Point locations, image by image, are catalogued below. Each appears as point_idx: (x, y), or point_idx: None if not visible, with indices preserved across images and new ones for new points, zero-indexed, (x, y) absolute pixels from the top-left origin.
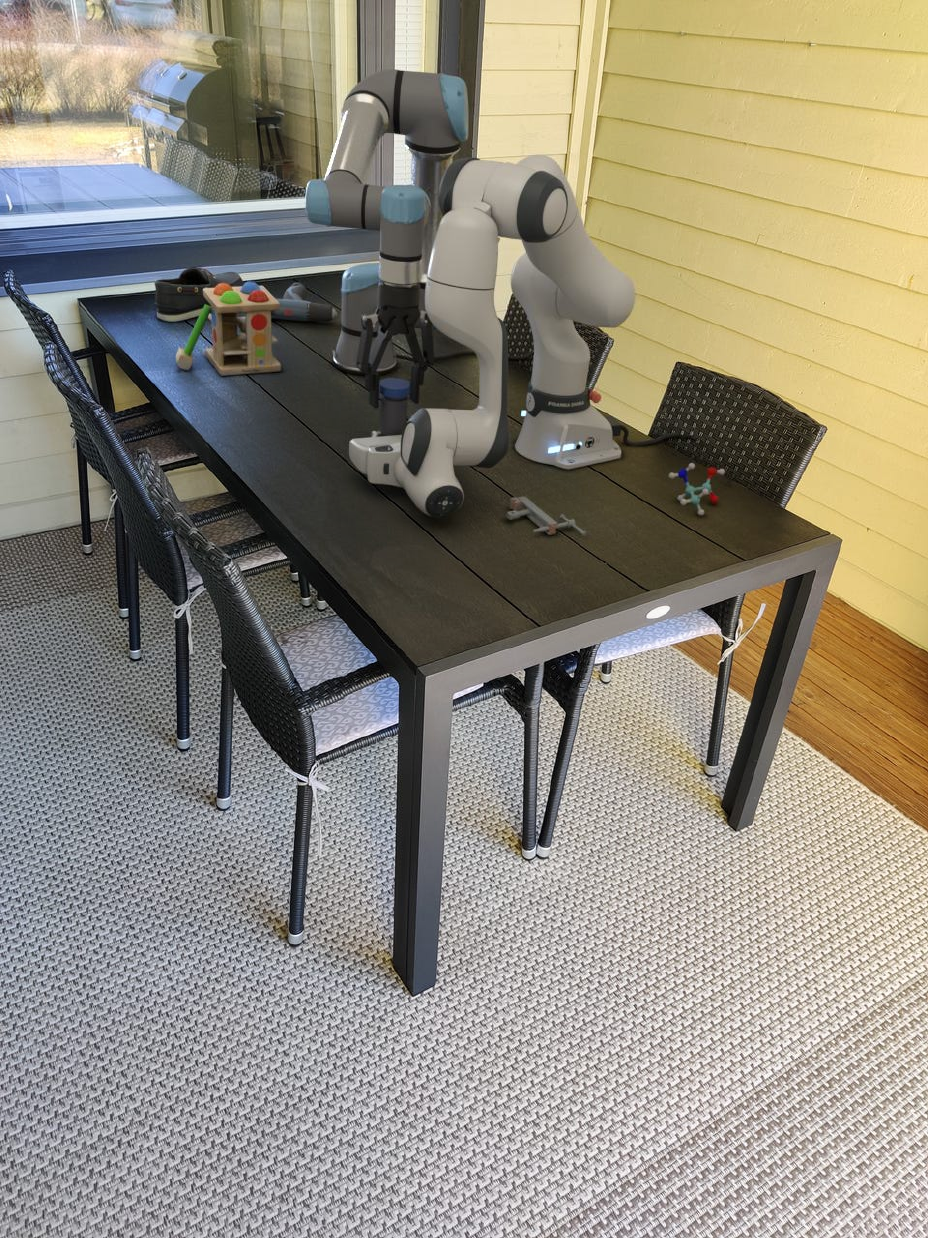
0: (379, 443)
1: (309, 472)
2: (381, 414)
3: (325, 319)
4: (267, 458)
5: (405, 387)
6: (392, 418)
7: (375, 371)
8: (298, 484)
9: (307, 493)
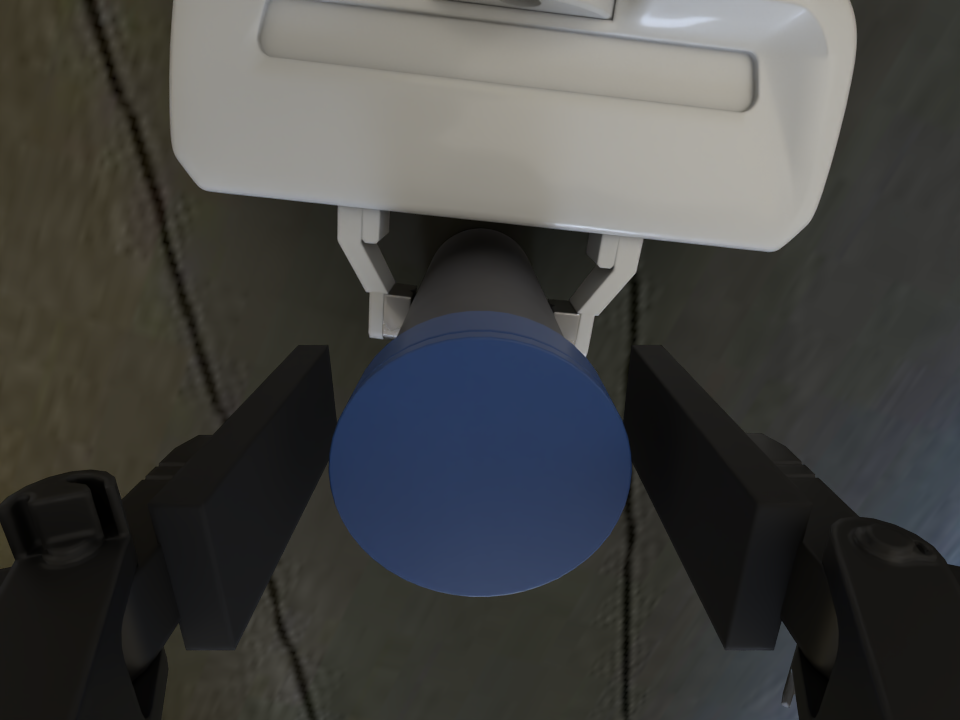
0: (673, 126)
1: (805, 322)
2: None
3: None
4: (873, 465)
5: (417, 366)
6: (524, 291)
7: (844, 547)
8: (902, 239)
9: (920, 149)
